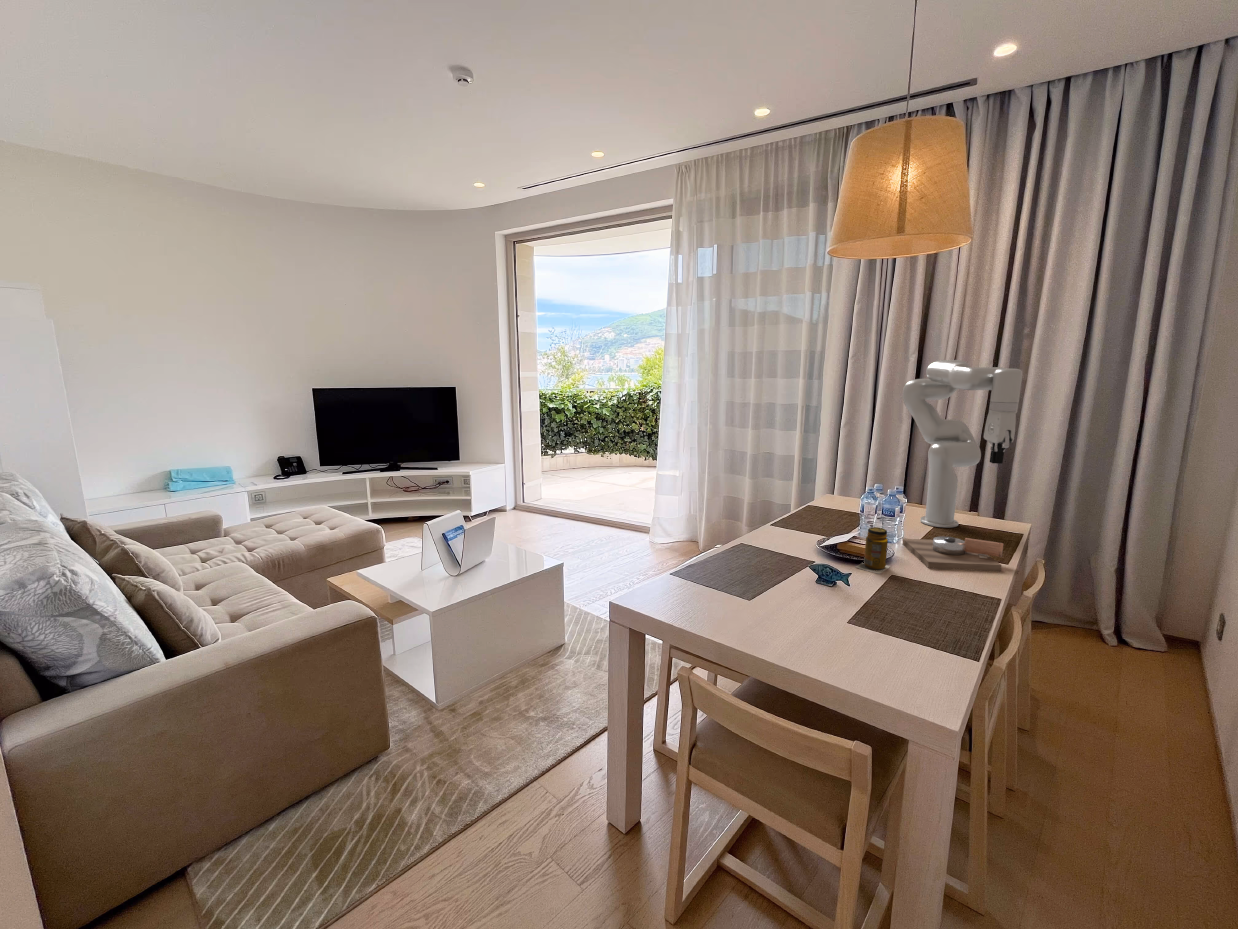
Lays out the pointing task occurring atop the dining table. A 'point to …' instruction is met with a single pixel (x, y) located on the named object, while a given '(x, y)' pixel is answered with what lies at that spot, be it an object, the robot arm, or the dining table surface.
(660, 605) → the dining table surface
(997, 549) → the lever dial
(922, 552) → the wooden cutting board
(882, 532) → the condiment
